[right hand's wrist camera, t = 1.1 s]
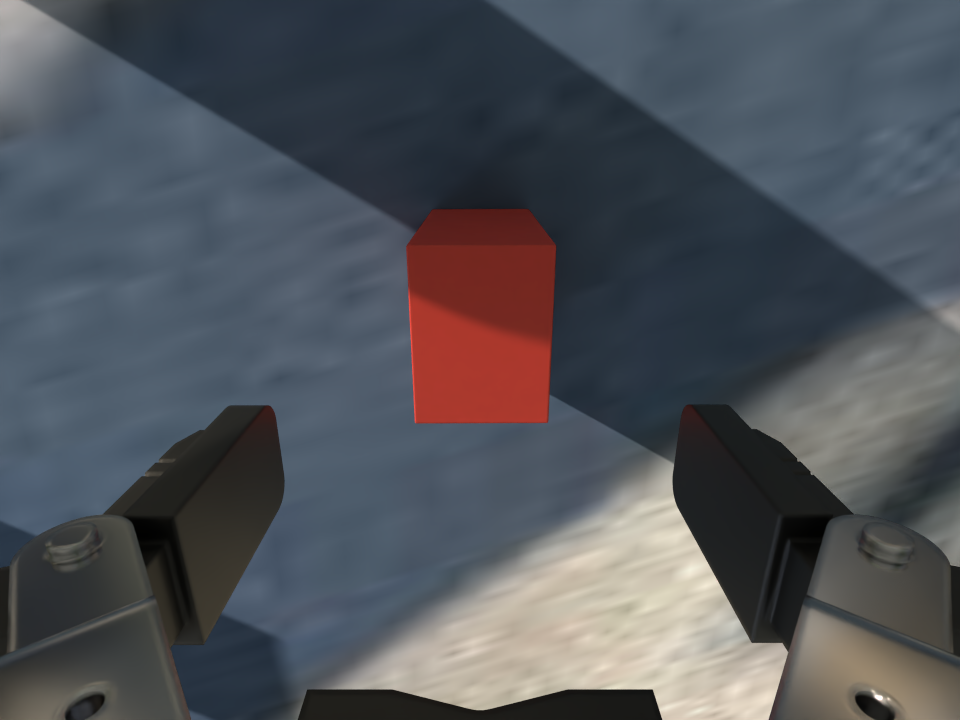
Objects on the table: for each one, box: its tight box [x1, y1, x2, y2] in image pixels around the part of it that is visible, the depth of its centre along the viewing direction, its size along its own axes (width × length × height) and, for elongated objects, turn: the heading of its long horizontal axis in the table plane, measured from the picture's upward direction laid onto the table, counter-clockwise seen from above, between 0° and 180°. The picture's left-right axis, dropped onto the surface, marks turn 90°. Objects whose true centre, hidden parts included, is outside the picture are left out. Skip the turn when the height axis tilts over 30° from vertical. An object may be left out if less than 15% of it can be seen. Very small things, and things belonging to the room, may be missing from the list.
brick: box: [406, 209, 556, 423], centre depth 21 cm, size 4×6×9 cm
